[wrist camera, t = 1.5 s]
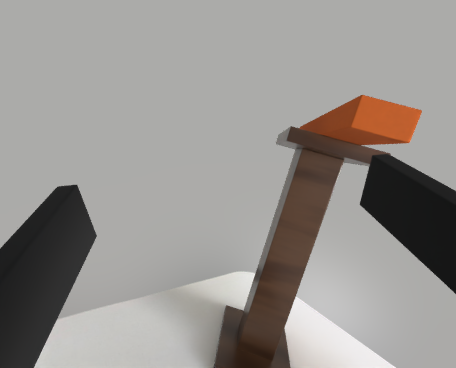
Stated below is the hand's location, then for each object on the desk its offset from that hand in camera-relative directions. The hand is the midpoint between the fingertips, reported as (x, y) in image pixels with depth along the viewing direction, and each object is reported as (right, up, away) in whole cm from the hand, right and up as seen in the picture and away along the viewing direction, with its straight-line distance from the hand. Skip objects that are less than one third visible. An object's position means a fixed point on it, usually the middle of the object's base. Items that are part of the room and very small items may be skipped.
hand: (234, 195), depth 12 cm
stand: (+3, -23, +25) cm, 34 cm away
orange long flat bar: (+11, +5, +17) cm, 21 cm away
